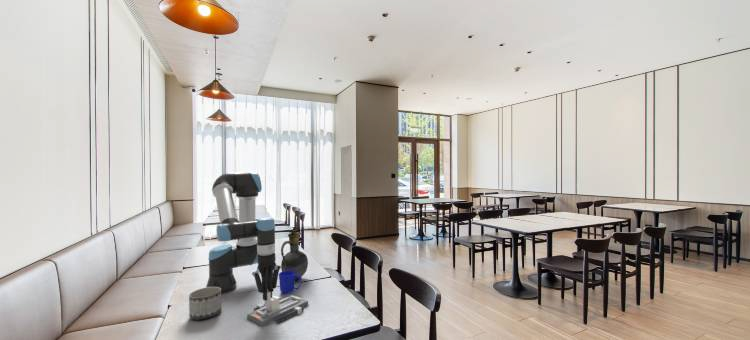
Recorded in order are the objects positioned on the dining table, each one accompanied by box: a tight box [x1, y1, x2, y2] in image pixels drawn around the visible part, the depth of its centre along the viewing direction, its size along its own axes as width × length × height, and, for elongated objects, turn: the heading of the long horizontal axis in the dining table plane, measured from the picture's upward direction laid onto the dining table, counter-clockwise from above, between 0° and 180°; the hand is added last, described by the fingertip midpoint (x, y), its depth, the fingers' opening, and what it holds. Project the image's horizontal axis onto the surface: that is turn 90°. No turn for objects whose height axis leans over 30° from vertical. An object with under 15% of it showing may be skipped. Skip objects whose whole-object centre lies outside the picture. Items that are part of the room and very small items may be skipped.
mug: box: [278, 271, 302, 295], centre depth 160 cm, size 8×12×10 cm
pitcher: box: [280, 229, 309, 283], centre depth 176 cm, size 11×19×30 cm, turn 157°
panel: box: [246, 294, 309, 327], centre depth 138 cm, size 12×24×3 cm, turn 143°
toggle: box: [267, 295, 281, 312], centre depth 135 cm, size 4×4×5 cm
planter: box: [188, 286, 223, 321], centre depth 136 cm, size 13×13×10 cm
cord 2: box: [275, 306, 304, 324], centre depth 132 cm, size 3×14×2 cm, turn 143°
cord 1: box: [253, 298, 281, 311], centre depth 143 cm, size 3×14×2 cm, turn 143°
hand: (267, 306), depth 133 cm, fingers closed
